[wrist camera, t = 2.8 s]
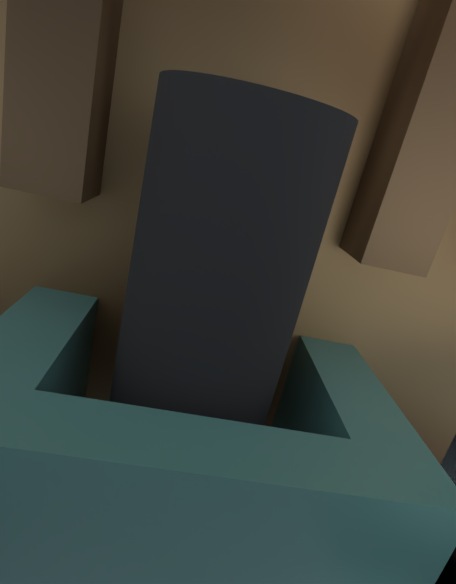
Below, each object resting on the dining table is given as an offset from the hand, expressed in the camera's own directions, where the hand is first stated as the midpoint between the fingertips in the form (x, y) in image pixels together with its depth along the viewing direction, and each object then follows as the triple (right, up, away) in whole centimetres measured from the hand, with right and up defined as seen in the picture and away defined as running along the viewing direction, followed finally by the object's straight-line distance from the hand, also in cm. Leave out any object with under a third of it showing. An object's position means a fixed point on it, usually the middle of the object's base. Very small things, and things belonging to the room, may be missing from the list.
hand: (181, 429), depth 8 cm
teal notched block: (0, 0, +1) cm, 1 cm away
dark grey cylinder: (0, 0, +1) cm, 1 cm away
